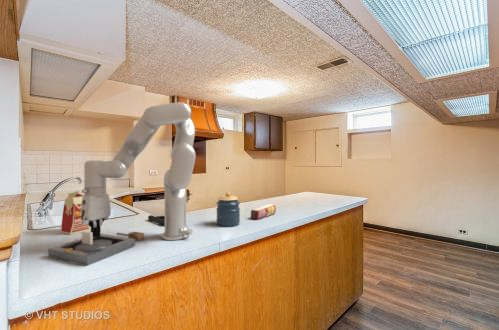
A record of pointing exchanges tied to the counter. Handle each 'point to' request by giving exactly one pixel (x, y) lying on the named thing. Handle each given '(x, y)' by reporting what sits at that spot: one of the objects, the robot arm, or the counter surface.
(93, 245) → the dial
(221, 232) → the counter surface
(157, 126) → the robot arm
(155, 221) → the door handle
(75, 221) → the milk carton
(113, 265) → the counter surface
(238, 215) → the canister
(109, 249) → the tray
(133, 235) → the screwdriver
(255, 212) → the snack package
